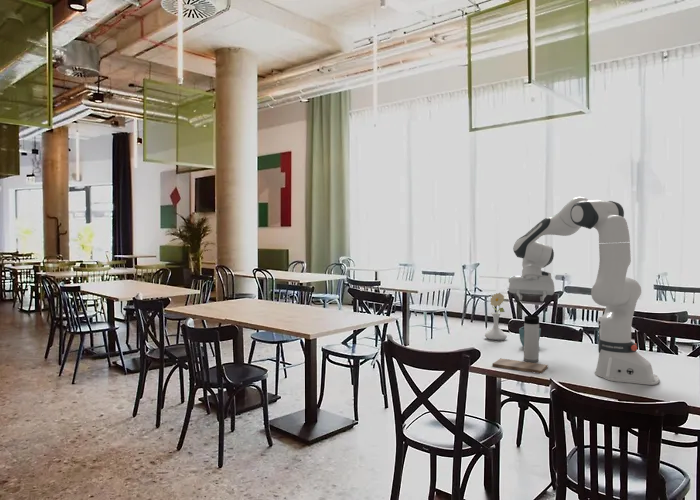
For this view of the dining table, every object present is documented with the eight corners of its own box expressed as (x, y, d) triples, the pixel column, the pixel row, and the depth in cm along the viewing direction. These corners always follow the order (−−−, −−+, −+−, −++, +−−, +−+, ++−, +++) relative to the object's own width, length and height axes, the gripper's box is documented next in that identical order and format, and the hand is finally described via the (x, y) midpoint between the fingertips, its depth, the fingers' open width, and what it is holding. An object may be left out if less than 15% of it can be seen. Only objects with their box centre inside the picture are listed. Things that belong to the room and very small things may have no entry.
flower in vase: (480, 337, 284) (481, 291, 283) (499, 336, 287) (500, 290, 286) (492, 342, 271) (493, 294, 270) (512, 341, 274) (513, 293, 273)
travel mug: (541, 360, 235) (542, 315, 234) (534, 363, 230) (535, 317, 229) (527, 358, 239) (528, 313, 239) (521, 360, 235) (521, 315, 234)
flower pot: (541, 346, 264) (541, 328, 264) (536, 349, 257) (537, 331, 256) (523, 343, 269) (523, 326, 268) (518, 347, 261) (518, 329, 261)
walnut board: (547, 367, 223) (547, 364, 223) (541, 373, 214) (541, 370, 214) (500, 361, 234) (500, 358, 234) (492, 366, 225) (492, 363, 225)
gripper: (508, 271, 255) (507, 294, 246) (554, 273, 248) (554, 296, 239) (508, 280, 259) (507, 302, 250) (553, 282, 253) (554, 305, 244)
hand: (531, 299), depth 245 cm, fingers open, 8 cm apart
